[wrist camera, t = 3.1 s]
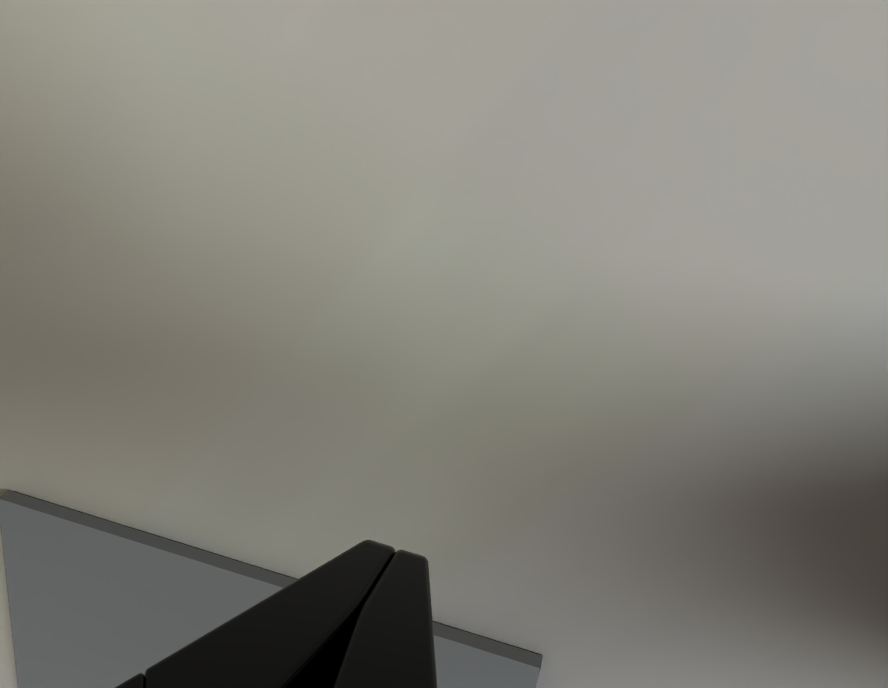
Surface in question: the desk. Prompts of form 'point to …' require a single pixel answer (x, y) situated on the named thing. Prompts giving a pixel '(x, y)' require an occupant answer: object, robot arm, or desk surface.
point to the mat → (158, 603)
